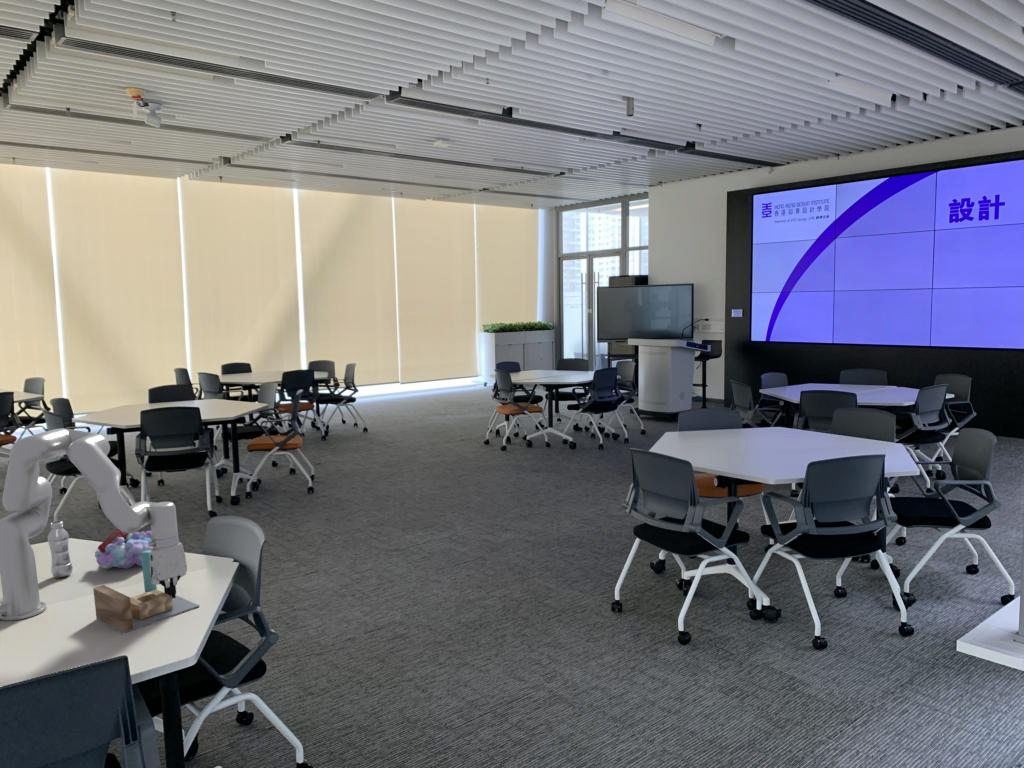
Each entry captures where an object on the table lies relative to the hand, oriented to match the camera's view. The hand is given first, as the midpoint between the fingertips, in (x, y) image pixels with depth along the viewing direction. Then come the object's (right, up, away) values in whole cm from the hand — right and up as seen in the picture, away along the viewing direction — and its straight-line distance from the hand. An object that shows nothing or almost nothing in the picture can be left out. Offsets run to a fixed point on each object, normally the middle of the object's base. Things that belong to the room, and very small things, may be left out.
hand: (170, 597), depth 242 cm
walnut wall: (-11, -4, -13) cm, 18 cm away
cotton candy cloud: (-35, 0, +41) cm, 54 cm away
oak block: (-4, -3, -5) cm, 7 cm away
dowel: (-12, -2, +12) cm, 17 cm away
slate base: (-5, -3, -5) cm, 8 cm away
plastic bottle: (-53, -1, +32) cm, 62 cm away
